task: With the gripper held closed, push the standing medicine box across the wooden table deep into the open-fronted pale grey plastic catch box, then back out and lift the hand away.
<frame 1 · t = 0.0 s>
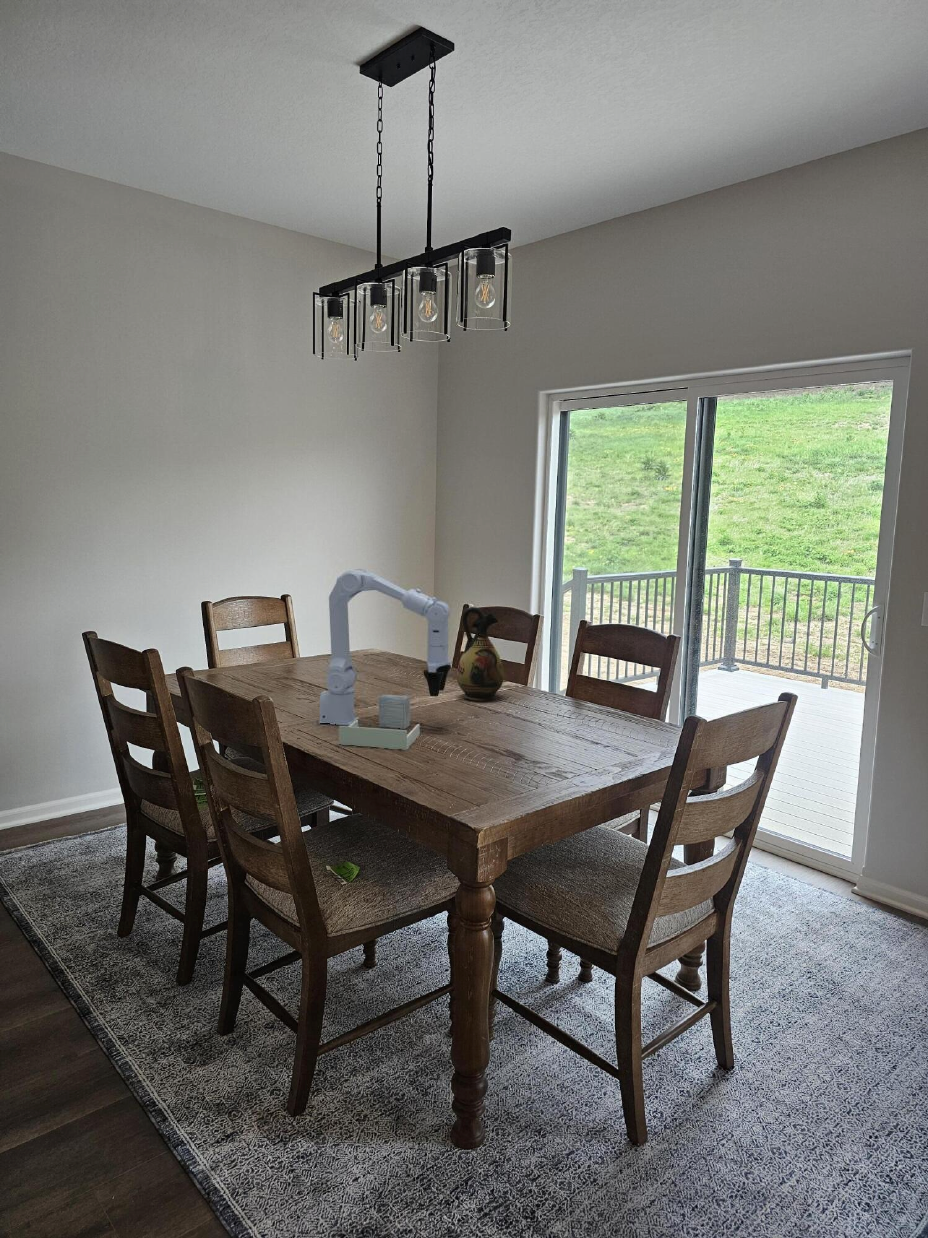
hand: (437, 693, 227), 10 cm above the table, tool pointing down, fingers open, 7 cm apart
ceramic jug: (477, 698, 267), on the table
medicine box: (394, 727, 230), on the table
catch box: (380, 739, 216), on the table
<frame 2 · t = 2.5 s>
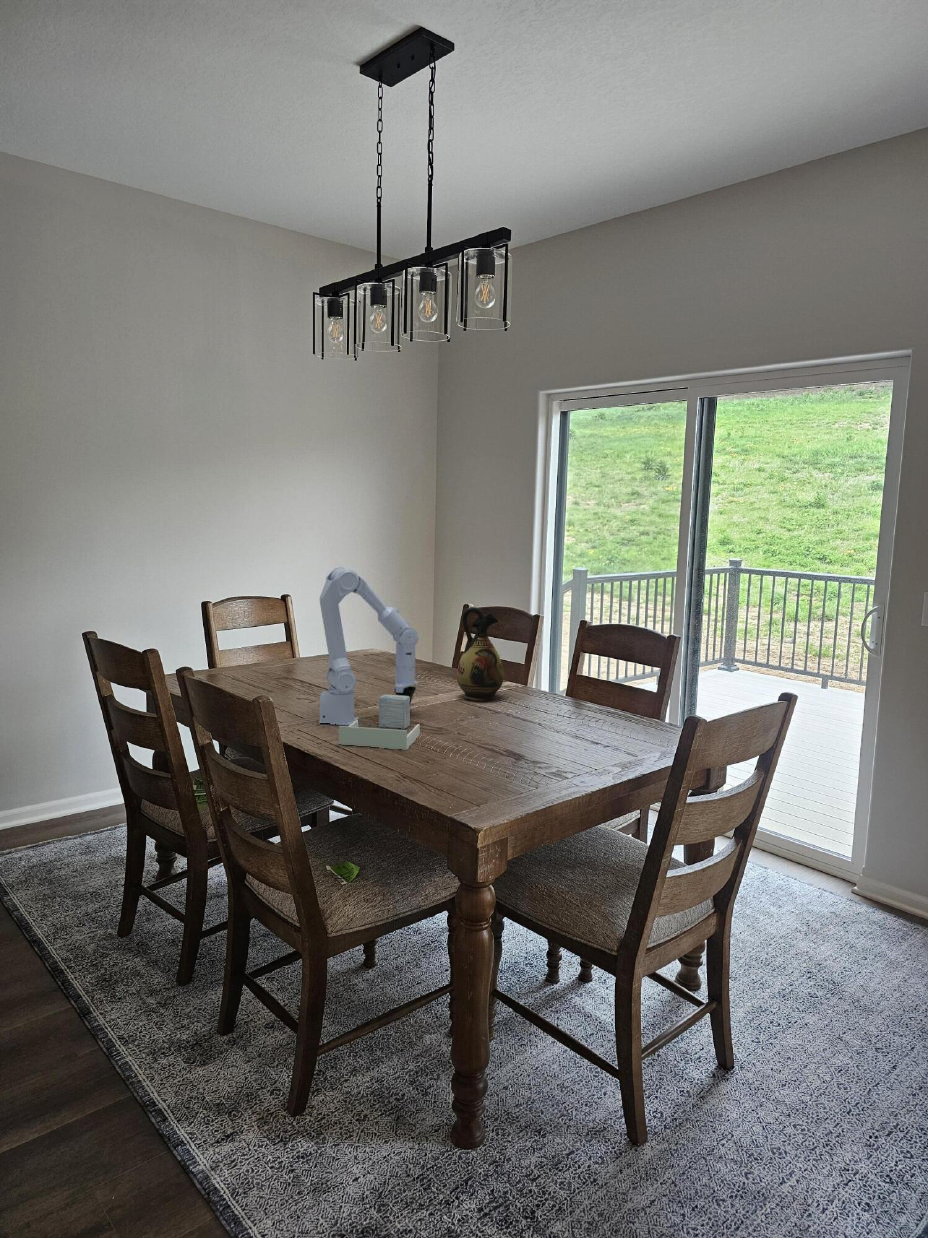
hand: (405, 711, 241), 1 cm above the table, tool pointing down, fingers closed
nothing on the table moved.
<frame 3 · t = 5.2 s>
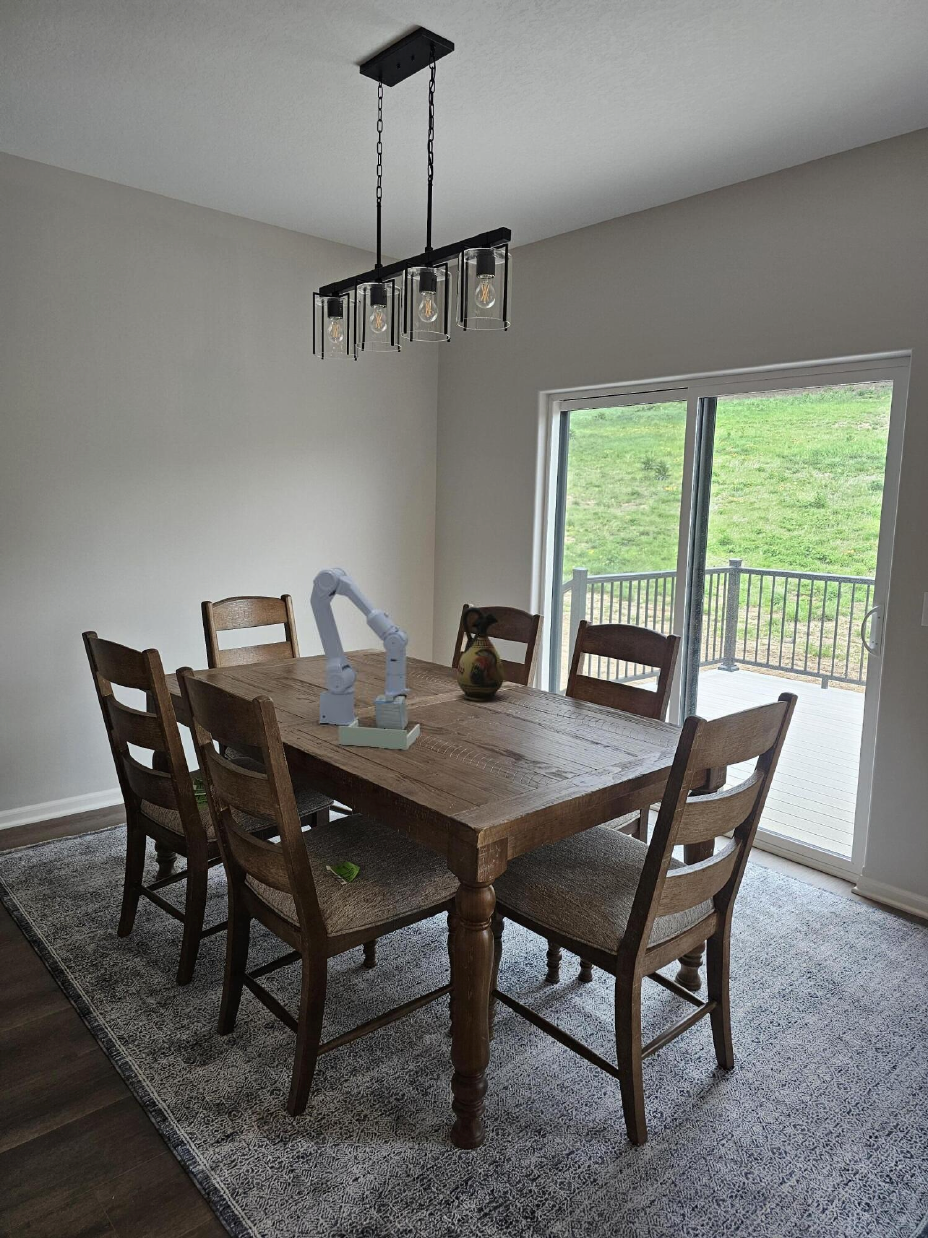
hand: (395, 720, 231), 1 cm above the table, tool pointing down, fingers closed
medicine box: (392, 726, 228), on the table, touching gripper
everything else where it was.
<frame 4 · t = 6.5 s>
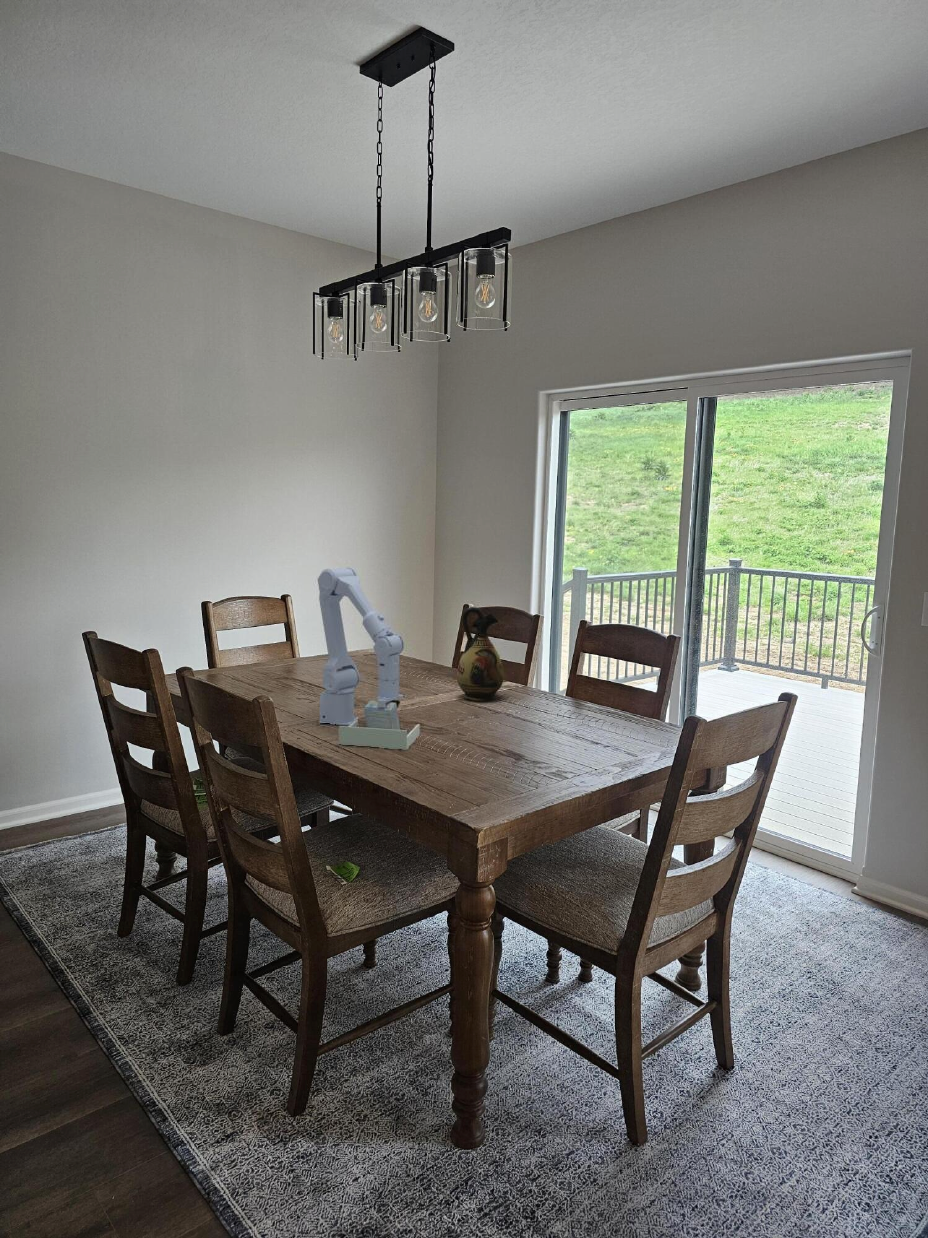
hand: (388, 727, 223), 1 cm above the table, tool pointing down, fingers closed
medicine box: (384, 733, 221), resting in catch box, touching gripper
everything else where it was.
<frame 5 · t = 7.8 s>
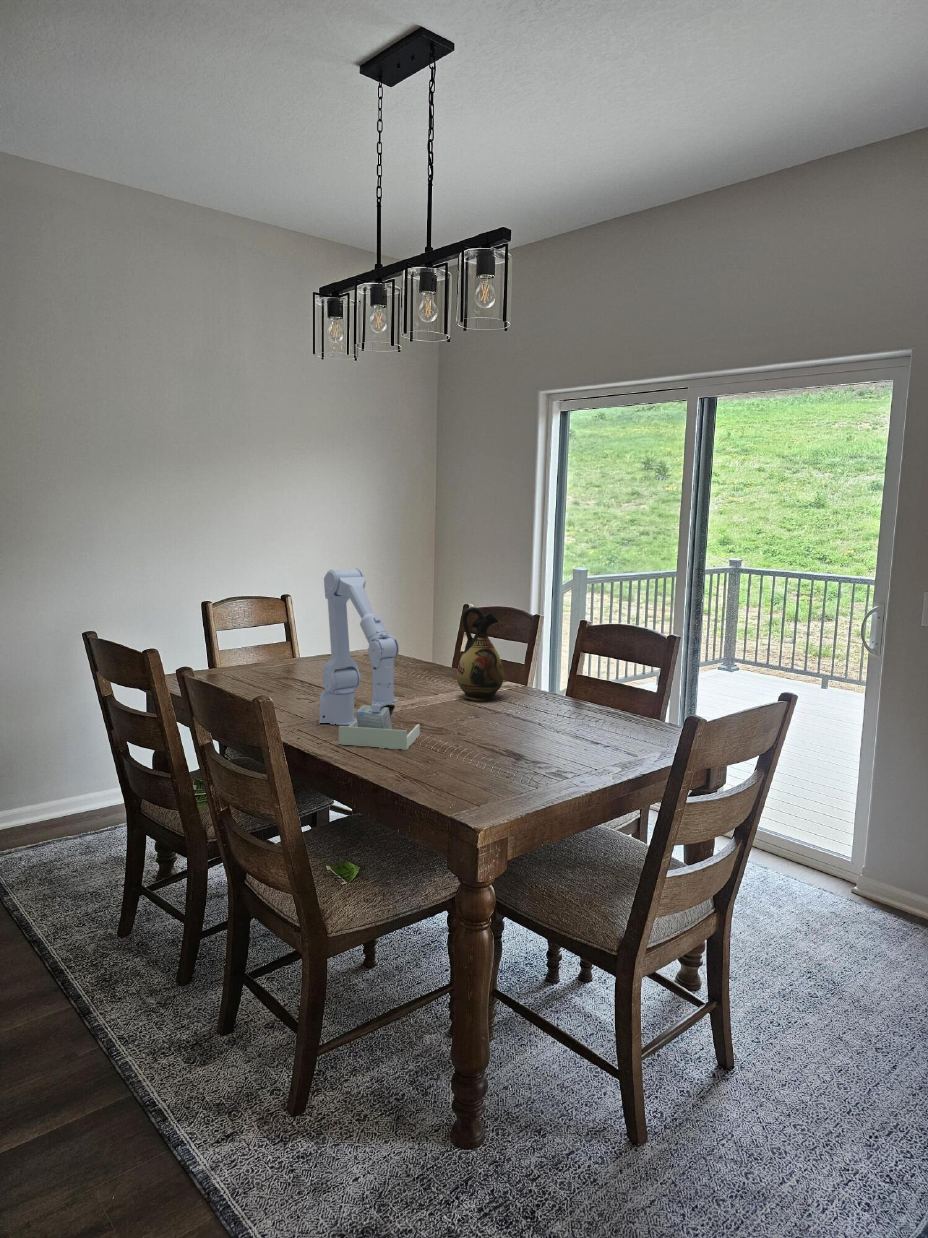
hand: (382, 732, 218), 1 cm above the table, tool pointing down, fingers closed
medicine box: (377, 738, 216), resting in catch box, touching gripper
everything else where it was.
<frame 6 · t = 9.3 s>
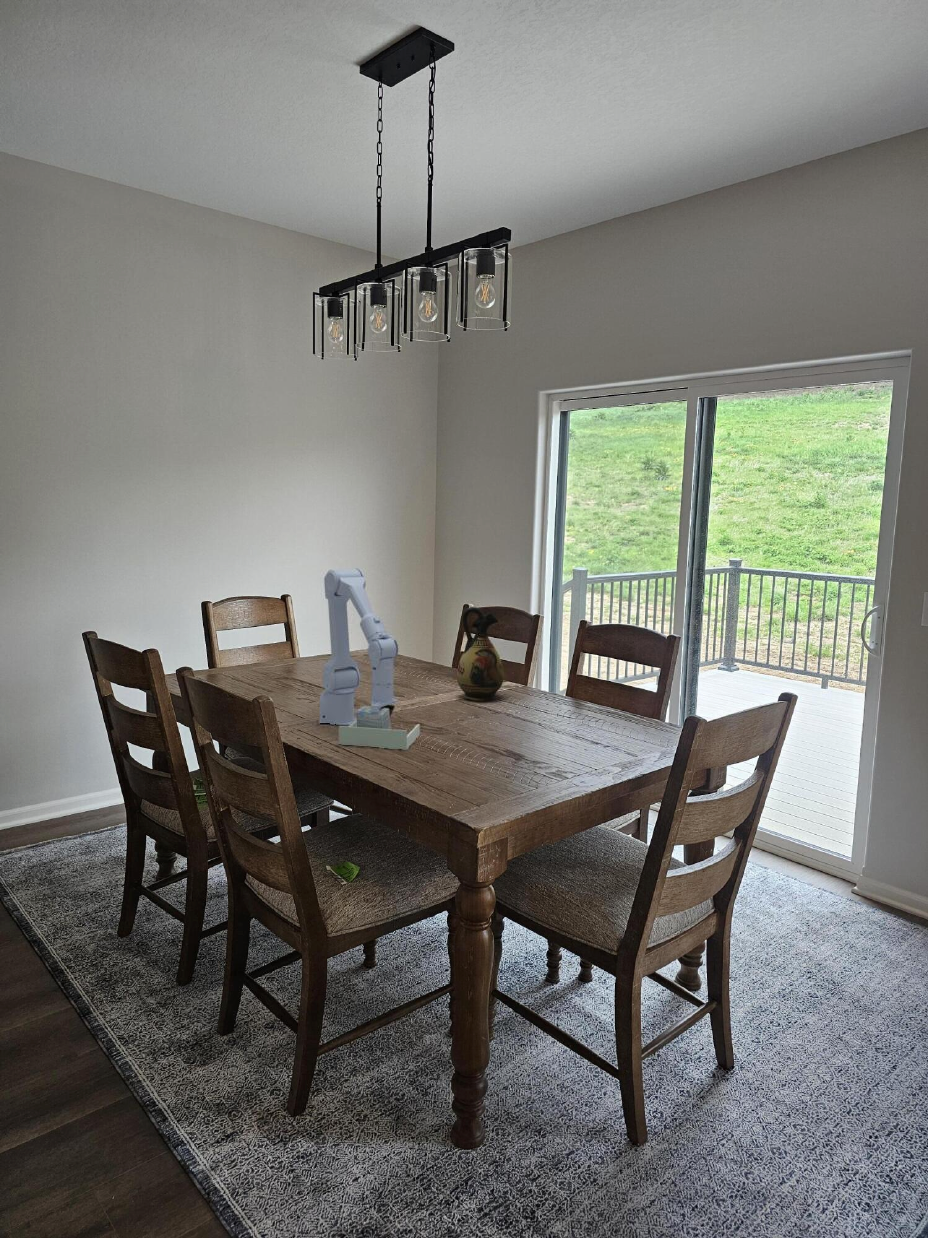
hand: (382, 732, 218), 1 cm above the table, tool pointing down, fingers closed
medicine box: (375, 740, 215), resting in catch box, touching gripper
everything else where it was.
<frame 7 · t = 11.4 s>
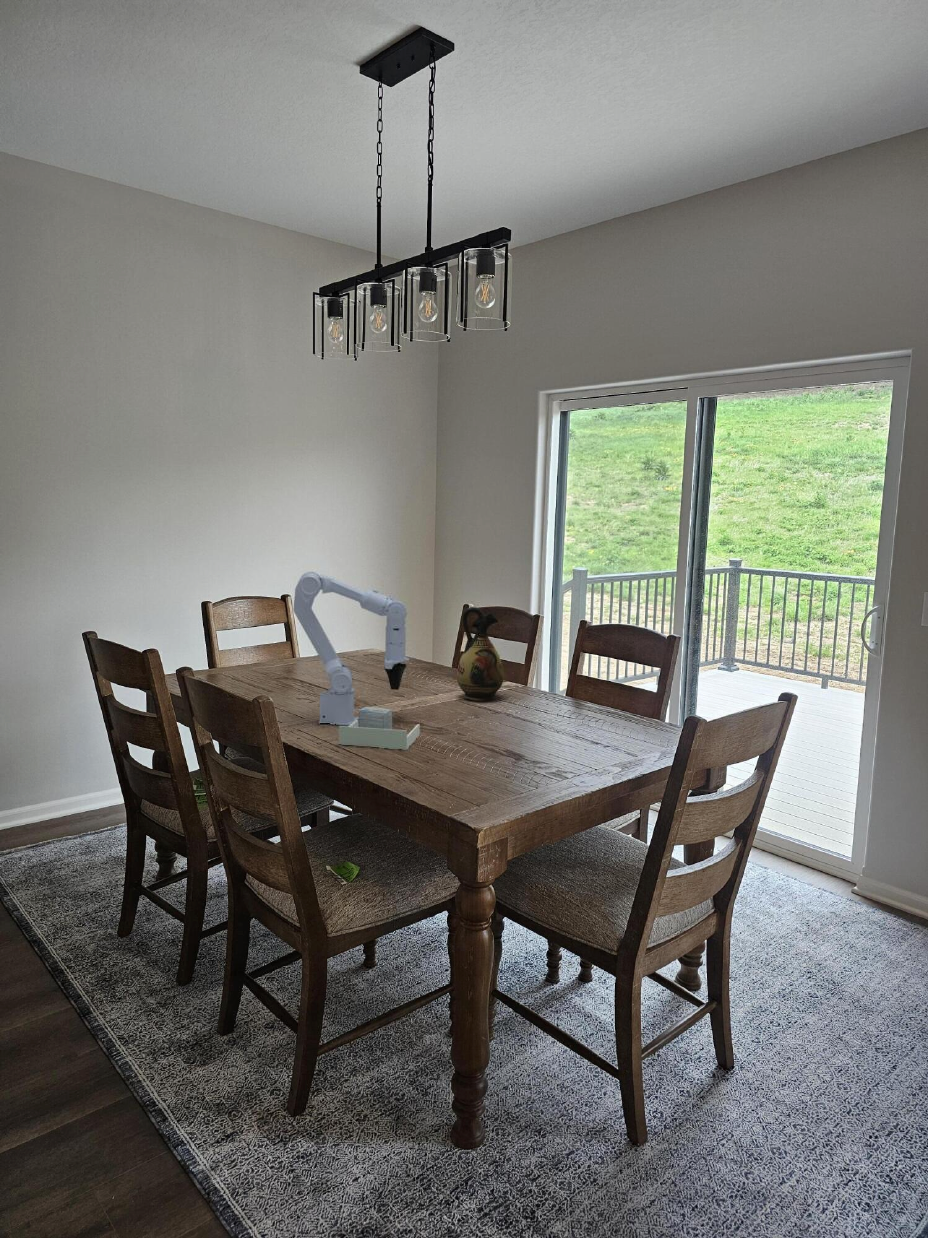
hand: (395, 689, 235), 9 cm above the table, tool pointing down, fingers closed
medicine box: (375, 742, 215), resting in catch box
everything else where it was.
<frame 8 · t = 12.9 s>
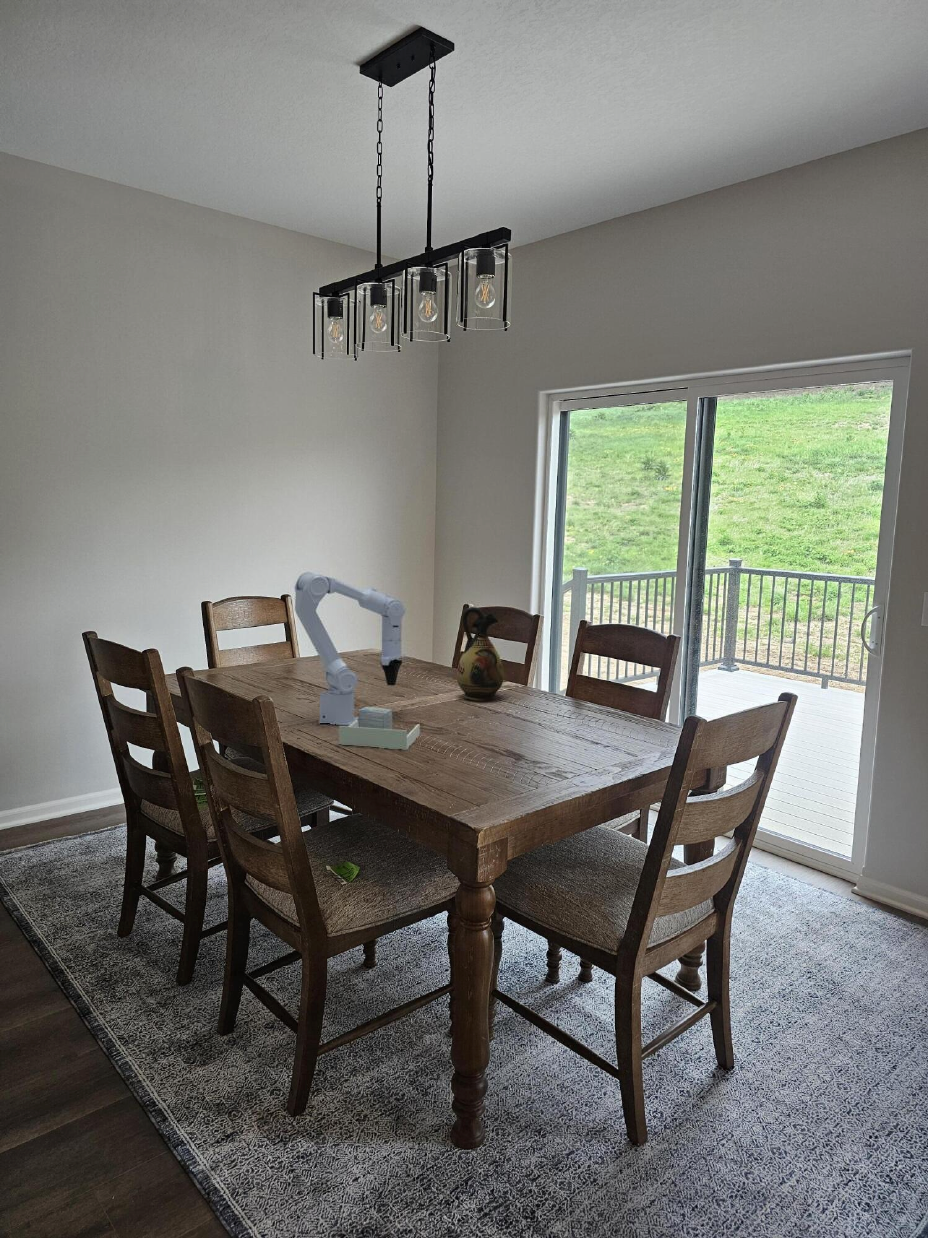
hand: (391, 685, 240), 9 cm above the table, tool pointing down, fingers closed
nothing on the table moved.
at the end: medicine box inside the target area on the catch box (1.0 cm from its centre), point 0.0 cm above the catch box's base; medicine box moved 15.7 cm from its start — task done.
